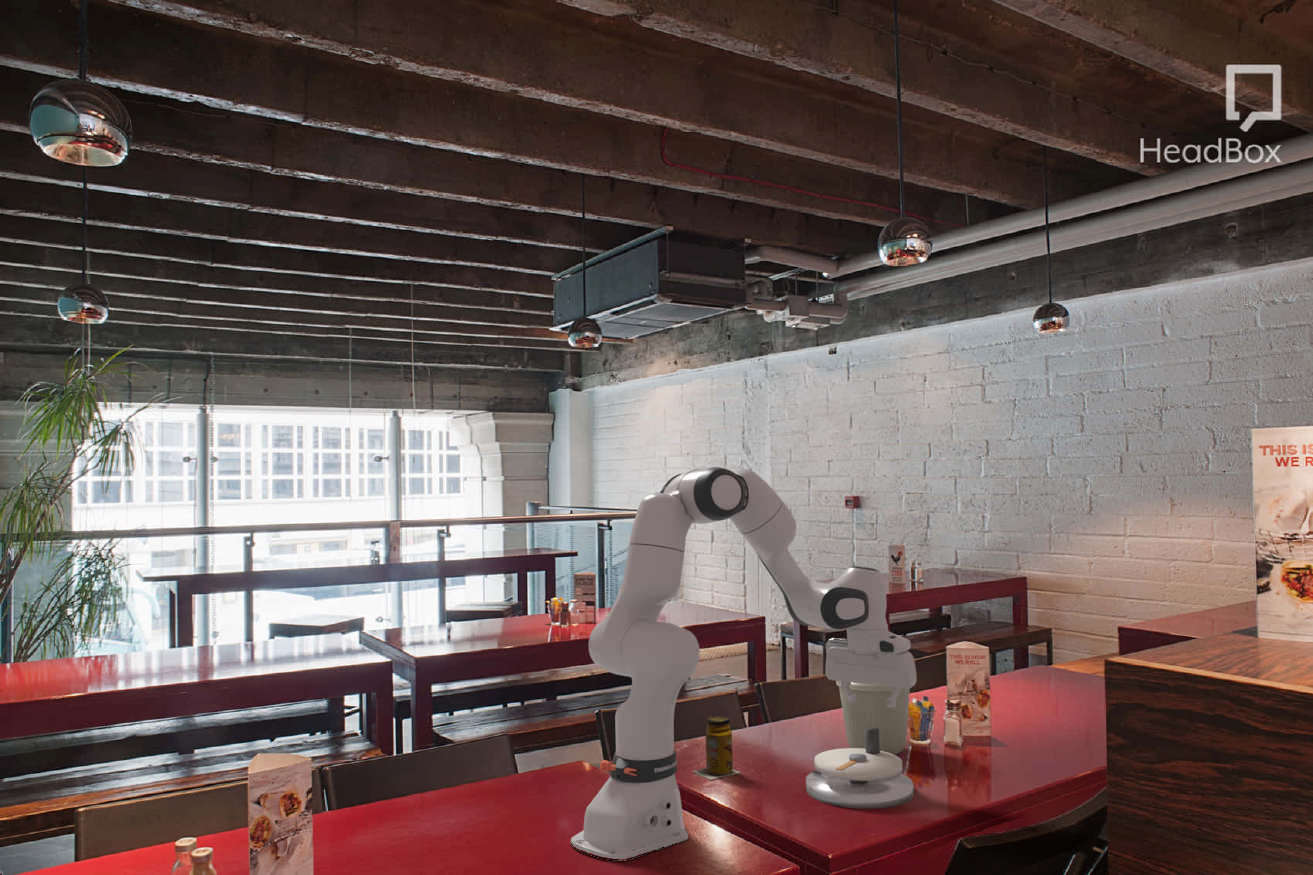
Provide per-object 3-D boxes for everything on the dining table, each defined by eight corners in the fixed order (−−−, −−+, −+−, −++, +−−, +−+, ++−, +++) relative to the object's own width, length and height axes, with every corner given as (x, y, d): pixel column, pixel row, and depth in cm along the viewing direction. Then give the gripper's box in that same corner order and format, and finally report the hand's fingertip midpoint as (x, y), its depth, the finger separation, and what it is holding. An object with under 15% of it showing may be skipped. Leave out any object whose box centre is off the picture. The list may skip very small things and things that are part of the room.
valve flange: (885, 816, 169) (883, 792, 169) (786, 794, 183) (785, 773, 183) (930, 786, 186) (929, 765, 186) (837, 768, 200) (836, 748, 200)
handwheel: (878, 786, 172) (877, 752, 172) (798, 770, 183) (797, 738, 184) (916, 763, 186) (915, 732, 186) (840, 750, 197) (839, 721, 198)
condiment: (740, 773, 198) (739, 719, 199) (711, 780, 194) (709, 725, 195) (721, 765, 205) (719, 713, 205) (691, 772, 200) (690, 718, 201)
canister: (876, 766, 200) (872, 673, 202) (823, 749, 216) (819, 662, 217) (931, 753, 210) (927, 663, 211) (877, 737, 225) (873, 654, 227)
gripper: (818, 639, 196) (821, 701, 195) (905, 646, 183) (909, 713, 182) (832, 634, 201) (835, 696, 200) (917, 641, 188) (921, 707, 187)
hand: (871, 704), depth 191 cm, fingers open, 8 cm apart
